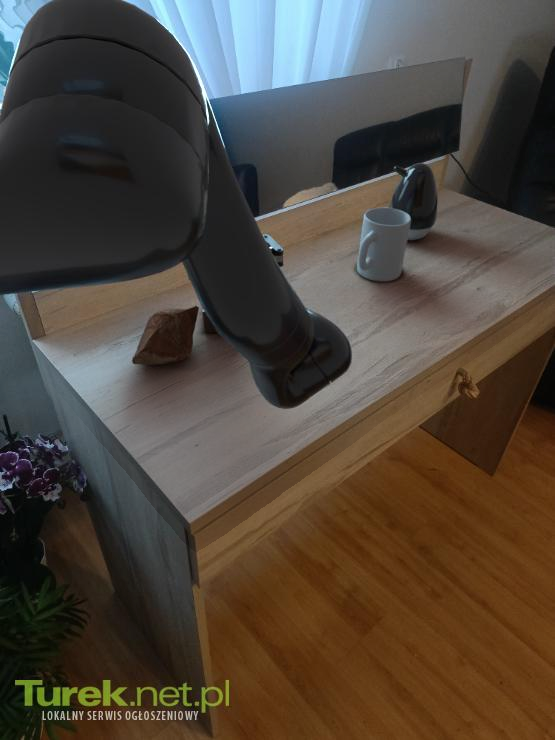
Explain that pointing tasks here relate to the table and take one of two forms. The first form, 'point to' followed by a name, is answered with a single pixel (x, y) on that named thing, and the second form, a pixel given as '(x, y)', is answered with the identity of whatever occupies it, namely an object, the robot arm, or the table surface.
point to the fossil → (167, 337)
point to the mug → (383, 243)
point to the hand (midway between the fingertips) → (218, 235)
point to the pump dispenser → (417, 198)
